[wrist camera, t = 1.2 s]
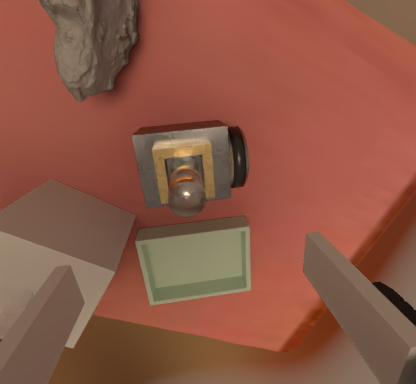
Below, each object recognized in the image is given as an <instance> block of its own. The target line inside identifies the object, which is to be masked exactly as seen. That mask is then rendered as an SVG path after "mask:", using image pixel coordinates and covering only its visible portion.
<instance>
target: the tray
mask: <svg viewBox="0 0 416 384" xmlns="http://www.w3.org/2000/svg"><path fill="white" fill-rule="evenodd" d="M135 244H136V248H137V252H138V256H139V260H140V265H141V269H142V273H143V277H144V281H145V285H146V290H147V294H148V298H149V302H150V305H157V304H164V303H170V302H177V301H184V300H190V299H197V298H203V297H210V296H217V295H223V294H230V293H237V292H243V291H250V290H251V276H250V226H249V224H248V222H247V220H246V218H245V217H244V216H237V217H229V218H221V219H213V220H205V221H198V222H190V223H182V224H174V225H166V226H158V227H150V228H143V229H139V230H138V233H137V236H136V240H135Z"/></svg>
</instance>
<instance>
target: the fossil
mask: <svg viewBox="0 0 416 384" xmlns="http://www.w3.org/2000/svg"><path fill="white" fill-rule="evenodd" d="M39 1H40V3H41V5H42V6H43V8H44V9H45V10H46V11H47V13H48V14H49V16H50V18H51V19H52V20H53V21H54V23H55V25H56V27H57V30H56V33H55V42H54V56H55V62H56V66H57V69H58V73H59V75H60V77H61V79H62V81H63V83H64V85H65V86H66V87H67V89H68V90H69V92H71V93H72V94H73V96H74V98H75V99H76V100H78V101H80V102H82V101H84V100H85V99H86V98H87V97H88V96H91V95H96V94H98V93H100V92H103V91H110V90H113V89H114V83H115V78H116V75H117V74H118V73H119V72H120V71H121V69H122V68H123V66H125V65H127V64H128V63H129V51H130V49H131V48H132V46H133V45H134V44H136V43H137V42H138V39H139V33H138V32H137V26H138V24H137V15H138V10H139V5H138V1H137V0H39Z"/></svg>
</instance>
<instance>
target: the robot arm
mask: <svg viewBox="0 0 416 384" xmlns="http://www.w3.org/2000/svg"><path fill="white" fill-rule="evenodd" d="M303 273H304V274H305V275H306V277H307V278H308V280H309V281H310V283H311V284H312V285H313V287H314V288H315V290H316V291H317V293H318V294H319V296H320V297H321V298H322V300H323V301H324V303H325V304H326V306H327V307H328V309H329V310H330V311H331V313H332V314H333V316H334V317H335V319H336V320H337V321H338V323H339V324H340V326H341V327H342V329H343V330H344V332H345V333H346V334H347V336H348V337H349V339H350V340H351V342H352V343H353V344H354V346H355V347H356V349H357V350H358V352H359V353H360V355H361V356H362V357H363V359H364V360H365V362H366V363H367V365H368V366H369V368H370V369H371V370H372V372H373V373H374V375H375V376H376V378H377V379H378V381H379V382H380V383H381V384H416V310H414V309H413V307H412V306H411V305H409V303H407V302H405V301H404V299H403V298H402V297H401V296H400V295H399V294H398V293H396V292H395V291H394V290H393V289H391V288H390V287H388V286H386V285H385V284H383V283H381V282H374V283H371V282H370V281H369V280H368V279H367V278H366V277H365V276H364V275H363V274H362V273H361V272H360V271H359V270H357V269H356V268H355V267H354V266H353V265H352V264H351V263H350V262H349V261H348V260H347V259H346V258H345V257H344V256H343V255H342V254H341V253H340V252H339V251H338V250H337V249H336V248H335V247H334V246H333V245H332V244H331V243H330V242H329V241H328V240H327V239H326V238H325V237H324V236H323V235H322V234H321V233H320V232H314V233H306V242H305V252H304V263H303ZM84 304H85V301H84V299H83V296H82V294H81V291H80V288H79V286H78V283H77V281H76V278H75V275H74V273H73V270H72V268H71V265H65V266H58V267H55V268H54V270H53V271H52V272H51V274H50V275H49V277H48V278H47V279H46V281H45V282H44V283H43V285H42V286H41V287H40V289H39V290H38V291H37V293H36V294H35V296H34V297H33V298H32V300H31V301H30V302H29V304H28V305H27V306H26V308H25V309H24V311H23V312H22V313H21V315H20V316H19V317H18V319H17V320H16V321H15V323H14V324H13V325H12V327H11V328H10V330H9V331H8V332H7V334H6V335H5V336H4V338H3V339H0V384H47V383H48V381H49V379H50V377H51V375H52V372H53V371H54V368H55V366H56V364H57V362H58V360H59V357H60V356H61V353H62V351H63V349H64V347H65V345H66V343H67V340H68V338H69V336H70V334H71V332H72V330H73V328H74V325H75V323H76V321H77V319H78V317H79V315H80V312H81V310H82V308H83V306H84Z"/></svg>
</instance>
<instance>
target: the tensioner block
mask: <svg viewBox="0 0 416 384" xmlns="http://www.w3.org/2000/svg"><path fill="white" fill-rule="evenodd" d="M132 141H133V145H134V150H135V155H136V160H137V165H138V170H139V175H140V180H141V184H142V189H143V194H144V199H145V204H146V208H151V207H159V206H168V205H169V204H168V192H169V183H170V175H171V167H172V163H173V162H174V160H175V159H177V158H178V157H185V156H189V157H191V158H193V159H194V160H195V161H196V162H197V164H198V167H199V171H200V175H201V179H202V183H203V186H204V190H205V194H206V201H209V200H217V199H225V198H231V190H230V188H237V187H243V186H244V184H245V183H246V182H247V179H248V172H249V160H248V149H247V144H246V139H245V136H244V133H243V131H242V130H241V129H239V127H237V126H236V127H227V126H226V125H225V124H223V123H222V122H220V121H219V120H214V121H204V122H193V123H183V124H173V125H162V126H152V127H142V128H140V129H139V130H138V131H136V132H135V133H134V134H133V135H132Z"/></svg>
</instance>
